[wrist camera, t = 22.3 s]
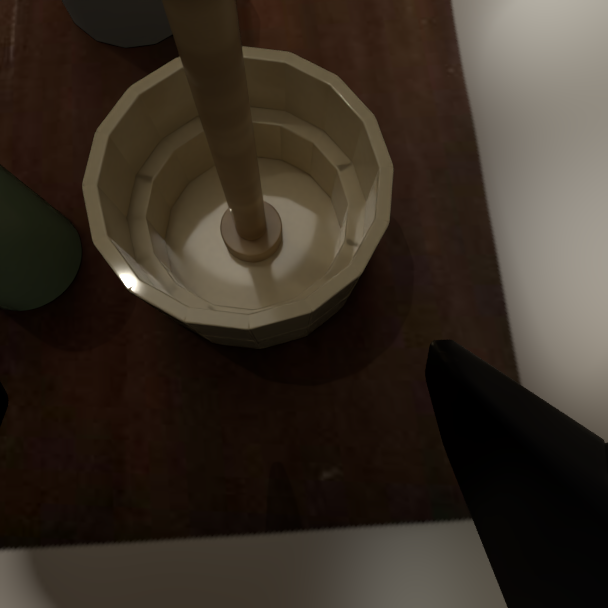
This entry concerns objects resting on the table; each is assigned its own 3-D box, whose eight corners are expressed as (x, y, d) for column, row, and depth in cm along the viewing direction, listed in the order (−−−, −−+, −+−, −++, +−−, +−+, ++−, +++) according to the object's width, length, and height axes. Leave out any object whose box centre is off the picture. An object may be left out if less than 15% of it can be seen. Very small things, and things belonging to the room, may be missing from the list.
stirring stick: (294, 239, 23) (304, -151, 7) (247, 274, 23) (132, -55, 6) (258, 196, 24) (185, -266, 7) (211, 229, 23) (17, -186, 7)
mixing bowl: (407, 257, 24) (454, 201, 17) (231, 396, 22) (204, 396, 15) (274, 105, 26) (268, -1, 19) (100, 221, 24) (24, 150, 17)
